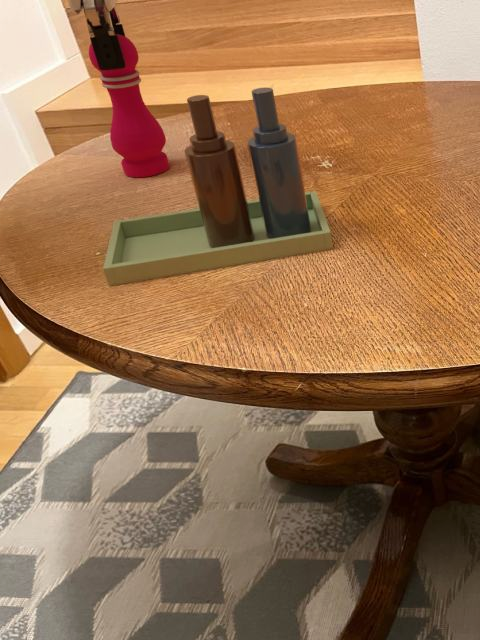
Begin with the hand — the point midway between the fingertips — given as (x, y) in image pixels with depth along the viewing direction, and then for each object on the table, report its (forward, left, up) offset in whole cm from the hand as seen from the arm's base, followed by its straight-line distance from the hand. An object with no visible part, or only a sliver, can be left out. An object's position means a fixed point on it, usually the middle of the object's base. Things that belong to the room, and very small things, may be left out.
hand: (115, 61), depth 97 cm
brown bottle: (+11, -30, -15) cm, 35 cm away
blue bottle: (+17, -30, -15) cm, 38 cm away
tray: (+10, -30, -15) cm, 35 cm away
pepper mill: (0, 0, -15) cm, 15 cm away
